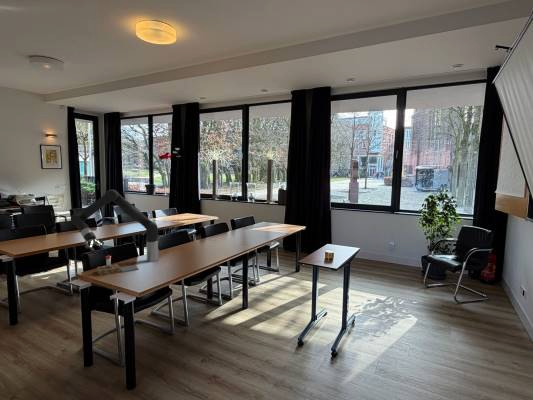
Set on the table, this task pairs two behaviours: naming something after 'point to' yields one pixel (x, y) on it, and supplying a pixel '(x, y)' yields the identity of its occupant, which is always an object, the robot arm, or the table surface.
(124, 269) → the mat
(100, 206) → the robot arm
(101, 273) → the eye block
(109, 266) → the wheel peg
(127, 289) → the table surface
